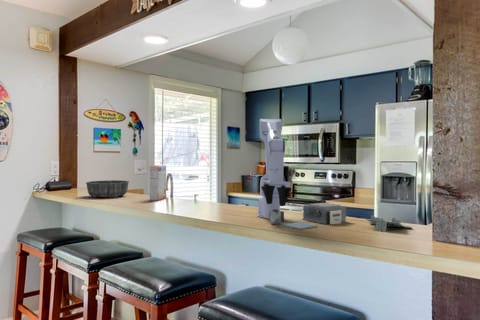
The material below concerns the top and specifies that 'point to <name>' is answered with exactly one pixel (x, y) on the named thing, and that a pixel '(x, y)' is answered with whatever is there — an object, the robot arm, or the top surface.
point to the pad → (299, 225)
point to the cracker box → (157, 182)
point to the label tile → (335, 217)
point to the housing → (322, 212)
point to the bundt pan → (107, 188)
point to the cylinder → (275, 217)
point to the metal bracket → (385, 223)
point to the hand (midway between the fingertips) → (275, 204)
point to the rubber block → (282, 216)
